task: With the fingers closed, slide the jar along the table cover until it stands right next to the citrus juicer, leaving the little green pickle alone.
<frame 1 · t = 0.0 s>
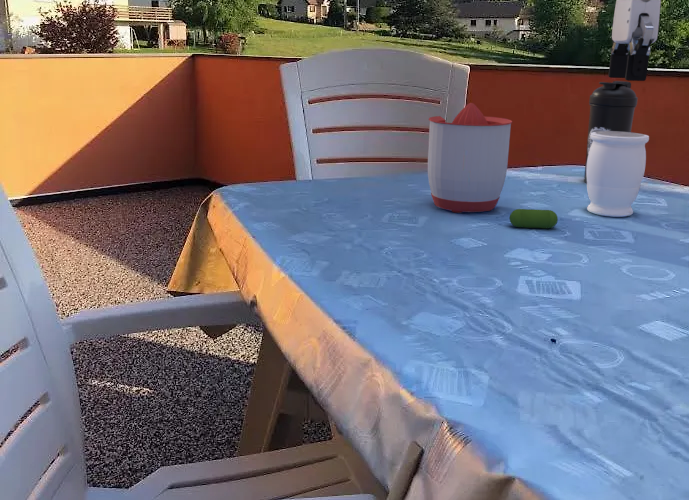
hand: (626, 79, 121), 25 cm above the table, tool pointing down, fingers open, 9 cm apart
citrus juicer: (462, 207, 139), on the table
pickle: (532, 227, 124), on the table
jar: (609, 213, 136), on the table
water bottle: (602, 183, 165), on the table
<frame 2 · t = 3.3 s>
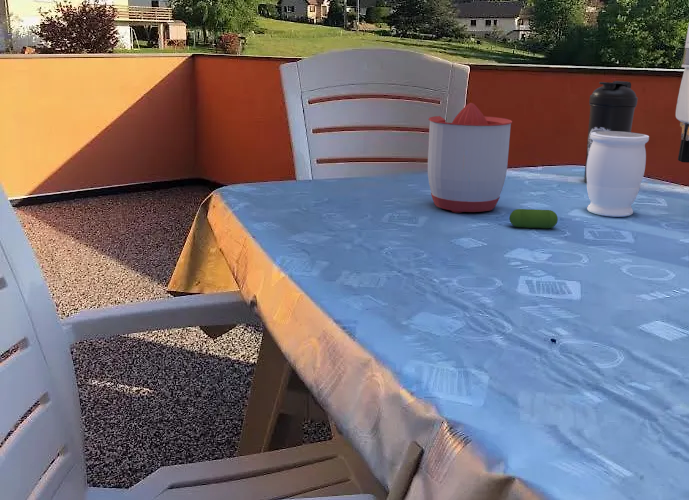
hand: (688, 161, 132), 10 cm above the table, tool pointing down, fingers closed
nothing on the table moved.
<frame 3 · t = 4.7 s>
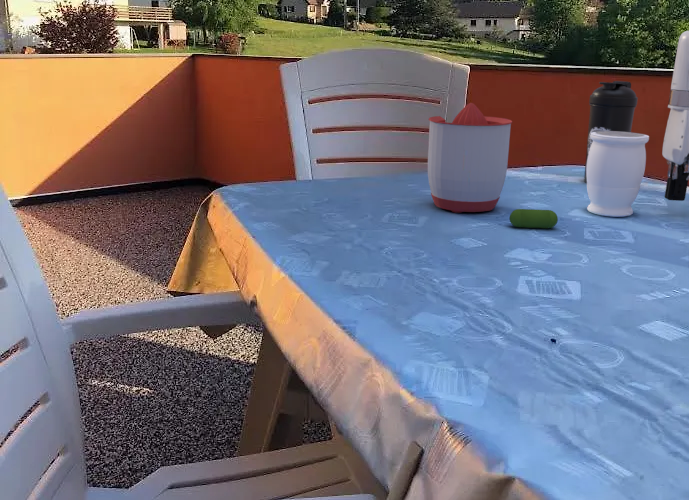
hand: (674, 199, 134), 3 cm above the table, tool pointing down, fingers closed
nothing on the table moved.
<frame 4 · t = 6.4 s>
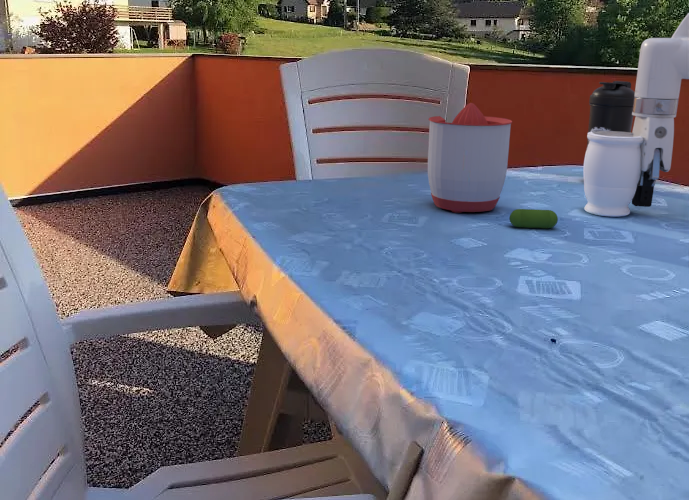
hand: (641, 205, 135), 2 cm above the table, tool pointing down, fingers closed
jar: (606, 213, 136), on the table, touching gripper
everything else where it was.
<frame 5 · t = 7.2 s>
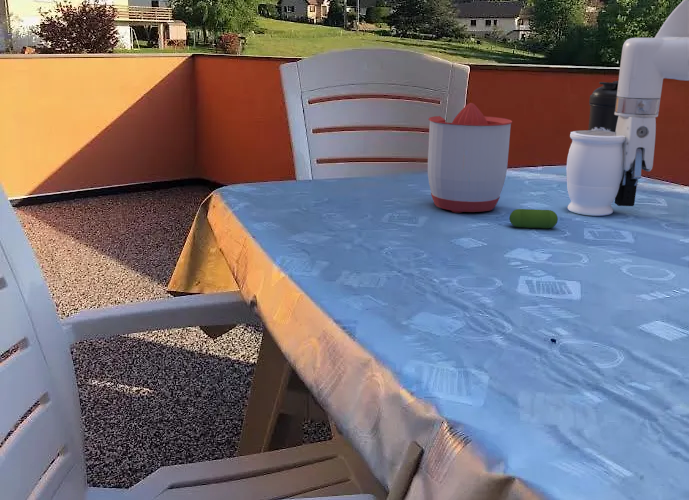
hand: (624, 204, 135), 2 cm above the table, tool pointing down, fingers closed
jar: (589, 212, 136), on the table, touching gripper
everything else where it was.
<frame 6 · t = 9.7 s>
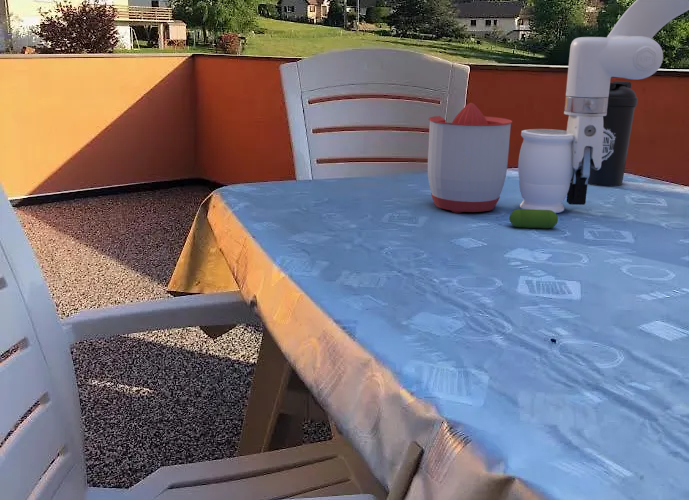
hand: (575, 203, 136), 2 cm above the table, tool pointing down, fingers closed
jar: (541, 210, 137), on the table, touching gripper
everything else where it was.
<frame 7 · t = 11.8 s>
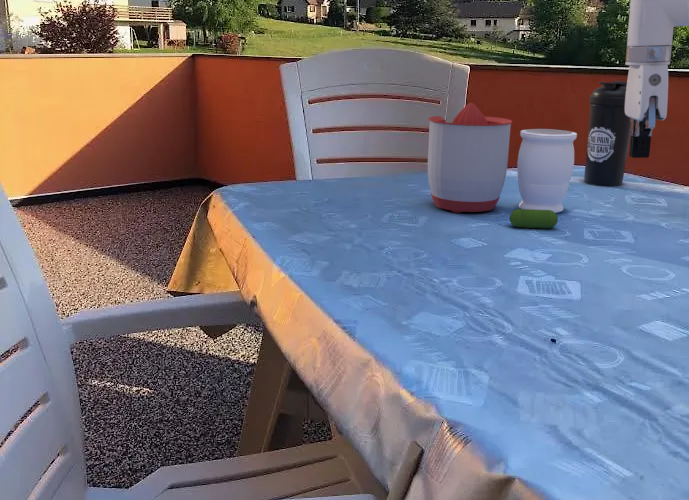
hand: (639, 156, 134), 11 cm above the table, tool pointing down, fingers closed
jar: (540, 210, 137), on the table
everything else where it was.
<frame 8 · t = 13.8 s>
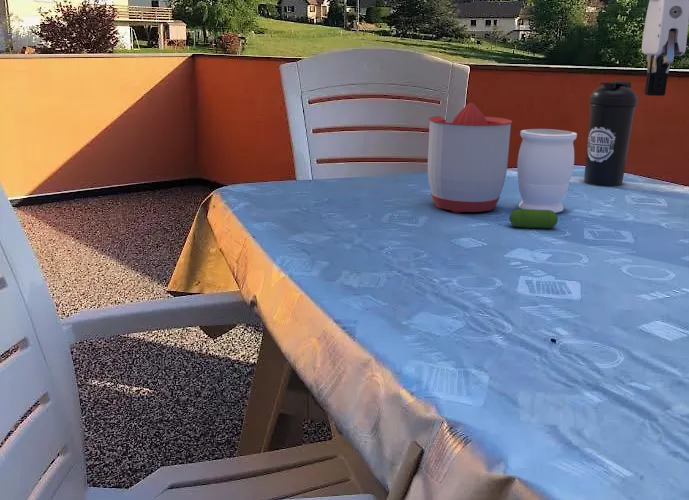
hand: (654, 95, 131), 22 cm above the table, tool pointing down, fingers closed
nothing on the table moved.
at the end: jar 15.1 cm from the citrus juicer (horizontally); jar tilted 0°; citrus juicer moved 0.2 cm from its start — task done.
